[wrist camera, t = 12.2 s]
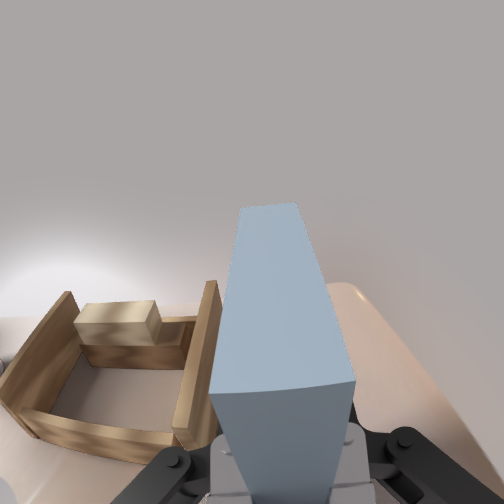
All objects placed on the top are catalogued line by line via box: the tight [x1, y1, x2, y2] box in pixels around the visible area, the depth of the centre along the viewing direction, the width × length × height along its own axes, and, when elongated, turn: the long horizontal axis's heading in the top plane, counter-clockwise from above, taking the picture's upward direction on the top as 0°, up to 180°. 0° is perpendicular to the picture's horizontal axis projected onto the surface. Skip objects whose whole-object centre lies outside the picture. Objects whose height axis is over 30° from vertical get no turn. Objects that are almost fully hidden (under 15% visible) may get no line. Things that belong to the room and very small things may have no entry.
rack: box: [0, 280, 223, 465], centre depth 30 cm, size 22×20×8 cm
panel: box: [209, 202, 356, 504], centre depth 12 cm, size 2×9×20 cm, turn 179°
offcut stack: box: [73, 300, 192, 369], centre depth 35 cm, size 14×4×8 cm, turn 89°
